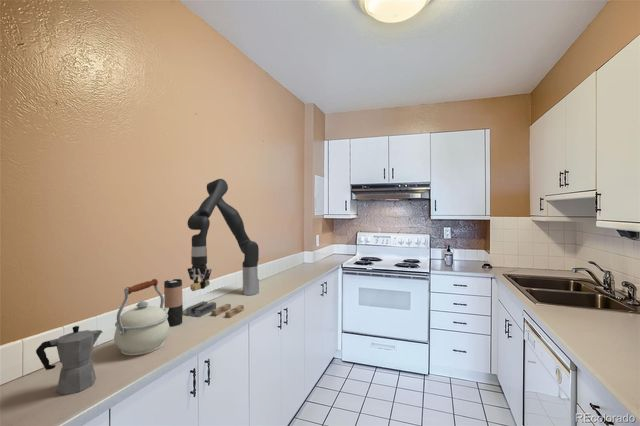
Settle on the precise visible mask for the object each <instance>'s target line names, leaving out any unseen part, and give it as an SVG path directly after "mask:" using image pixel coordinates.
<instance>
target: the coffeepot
mask: <svg viewBox="0 0 640 426" xmlns="http://www.w3.org/2000/svg"><path fill="white" fill-rule="evenodd" d="M79 329H80V325H75V326H73V327H72V332H70V333H67V334H64V335H60V336H59V337H58V338H54V339H51V340H46V341H42V343H41V344H40V345H39V346H38V347H36V350H35V353H36V355H37V357H38V359H39V360H40V362H41V364H42V366H43V367H44V369H45V370H46V371H50V370H53V369H55V368H56V365H57V364H52V365H51V364H50V360H49V358H48V356H47V353H46V350H45V349H48V348H55V347H56V349H57V353H58V359H59V363H61V365H62V366H61V369H60V372H59V377H58V384H57V389H56V393H58V394H60V395H72V394H77V393H80V392H82V391H85V390H87V389H89V388H91V387H92V386H93V385H94V384H95V382H96V379H97V377H96V373H95V368H94V364H93V360H92V359H91V358H92V357H91V356H92V355H93V351H94V345H95V343H96V342H97V340H98V338H99V337H100V335H102V333H104V332H103V330H101V329H100V330H99V329H94V330H90V329H89V330H88V329H86V330H85V329H84V330H80V331H79Z"/></svg>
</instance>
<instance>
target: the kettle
mask: <svg viewBox="0 0 640 426" xmlns="http://www.w3.org/2000/svg"><path fill="white" fill-rule="evenodd" d="M158 284H159V281H158V279H157V278H153V279H151V280H149V281H144V282H141V283H137V284H134V285H133V286H126V287H124V290H123V291H124V299H123V301H122V303H121V305H120V307H119V309H118V311H117V314H116V322H115V323H114V326H115V328H116V329H115V332H114V335H113V341H114V344H115V346H116V347H117V348H118V349H119V350H120V353H121V354H122V355H124V356H131V357H133V356H141V355H146V354H149V353H152V352H155V351H156V350H157V351H158V350H159V349H160V348H161V347H162V346H163V345H164V344H165V340H166V339H167V337H168V336H169V333H170V326H169V323H168V320H167V318H168V314H167V313H168V310H169V308H164V295H163V294H162V292H161V291H160V290H159V288H158ZM152 286H153V288H154V291H156V293H157V294H158V295H159V299H160V305H159V306H156V305H149V303H148V302H147V301H145V300H141V301H139V302H138V303H137V304H136V307H133V308H131V309H129V310H126V311H125V312H124V313H123V311H124V308H125V306H126V304H127V302H128V300H129V296H130V295H131V294H132V293H137V292H139V291H143V290H145V289H148V288H150V287H152Z"/></svg>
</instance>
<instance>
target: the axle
mask: <svg viewBox="0 0 640 426" xmlns="http://www.w3.org/2000/svg"><path fill="white" fill-rule="evenodd" d="M209 280H210V279H209ZM209 280H206V281H205V288H207V287H209V286H210V284H211V283H210V281H209ZM190 290H191V291H192V292H196V291H198V290H201V280H199V281H198V282H197V283H194V282H193V283H192V284H191V285H190Z"/></svg>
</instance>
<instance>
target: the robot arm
mask: <svg viewBox="0 0 640 426" xmlns="http://www.w3.org/2000/svg"><path fill="white" fill-rule="evenodd" d="M228 185H229V184H228V183H227V181H226V180H225V179H223V178H217V179H215V180H212V181H211V182H209V183H206V186H207V187H206V188H207V189H206V192H207V193H208V196H207V197H206V198H205V199H204V200H203V201H202V202H201V204H200V206H199V208H198V209H196V211H194V213H192V214H191V215H190V217H188V220H187V227H188V228H189V229H190V230H193V231H199V233H196V234H193V235H192V236H191V251H190V253H191V254H190V255H191V256H190V258H191V259H190V262H191V265H192V266H191V267H188V268H187V273H188V275H189V279H190V280H192V281H193V284H194V283H197V282H199V279H200V281H201V289H202V290H203V289H205V288H206V287H205V281H206V280H210V277H211V273H212V268H208V266H207V264H208V248H207V236H208V232H209V229H210V224H211V221H210V219H209V218H210V217H211V216H212V214H213V212H214V209H216V207H217V209H218V210H219V212H220V214H221V215H222V217H223V219H224V221H225V223H226V225H227V226H228V228H229V230H230V232H231V233H232V235H233V236H234V237H235V240H236V242H237V244H238V247H239V249H240V252H241V253H242V254H244V257H243V258H244V260H243V261H242V295H244V296H255V295H257V294H260V278H259V277H258V273H259V272H258V269H259V268H258V265H259V264H258V263H259V256H260V255H259V254H260V253H259V249H260V248H259V245H258V243H257V242H256V241H254V240H252V239H250V237H249V236H248V234H247V232H246V229H245V225H244V224H245V223H244V221H243V219H242V217H241V214H240V213H239V211H238V210H237V209H235V207H234V206H232V205H230V204H228V203H227V202H226V201H225V200H224V199H223V197H224V196H225V195H226V194H227V192H228V190H229V186H228ZM201 289H200V290H201Z"/></svg>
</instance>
